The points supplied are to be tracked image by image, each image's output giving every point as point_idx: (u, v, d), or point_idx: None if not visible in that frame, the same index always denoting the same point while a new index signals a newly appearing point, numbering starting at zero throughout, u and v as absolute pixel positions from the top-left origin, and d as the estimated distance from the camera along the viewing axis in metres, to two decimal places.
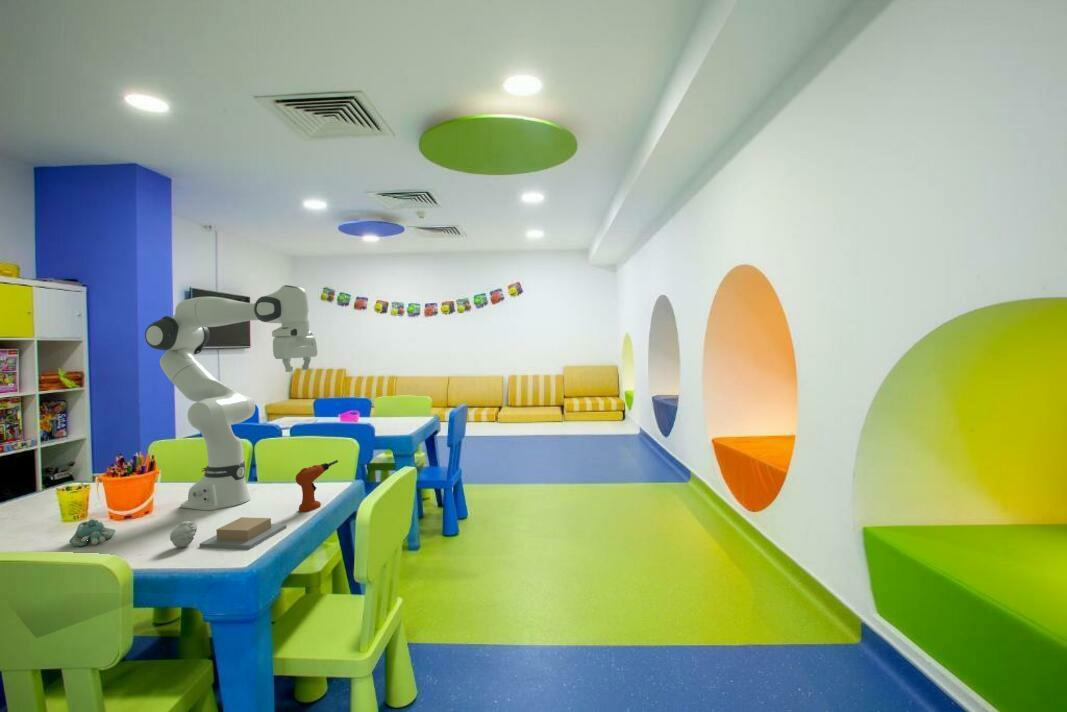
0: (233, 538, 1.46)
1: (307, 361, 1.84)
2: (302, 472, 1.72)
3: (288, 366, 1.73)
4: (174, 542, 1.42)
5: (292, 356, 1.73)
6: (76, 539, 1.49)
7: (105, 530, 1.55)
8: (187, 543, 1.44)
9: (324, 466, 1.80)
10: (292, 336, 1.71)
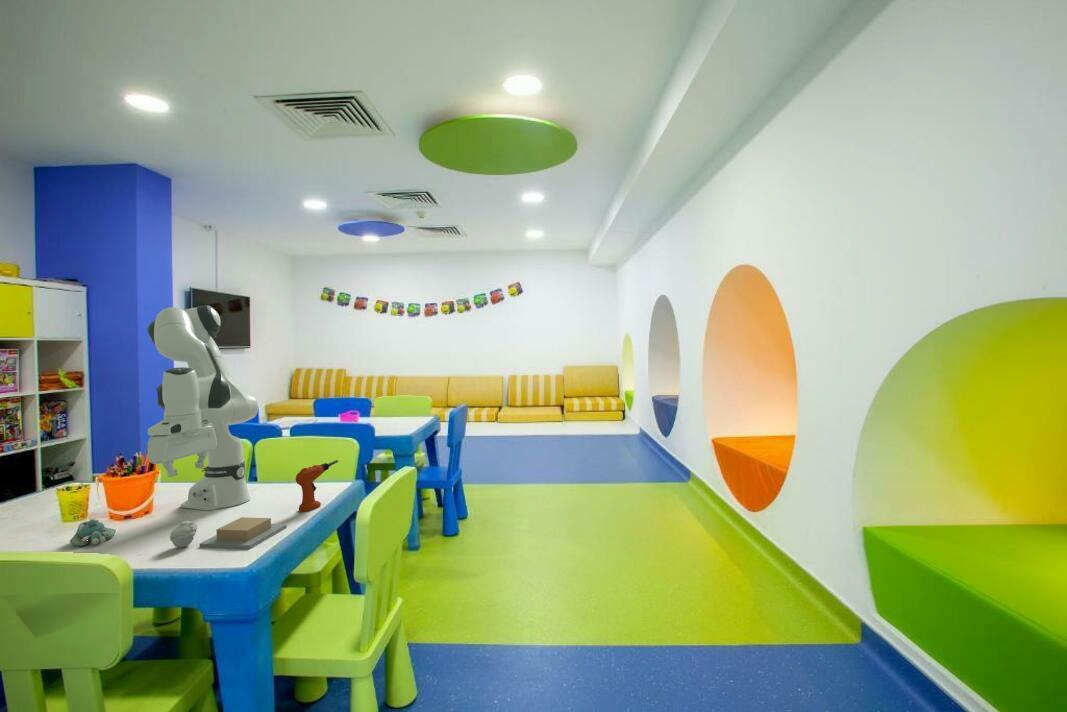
0: (233, 538, 1.46)
1: (202, 457, 1.51)
2: (302, 472, 1.72)
3: (170, 470, 1.40)
4: (174, 542, 1.42)
5: (175, 457, 1.40)
6: (76, 539, 1.49)
7: (106, 530, 1.55)
8: (187, 543, 1.44)
9: (324, 466, 1.80)
10: (173, 434, 1.39)
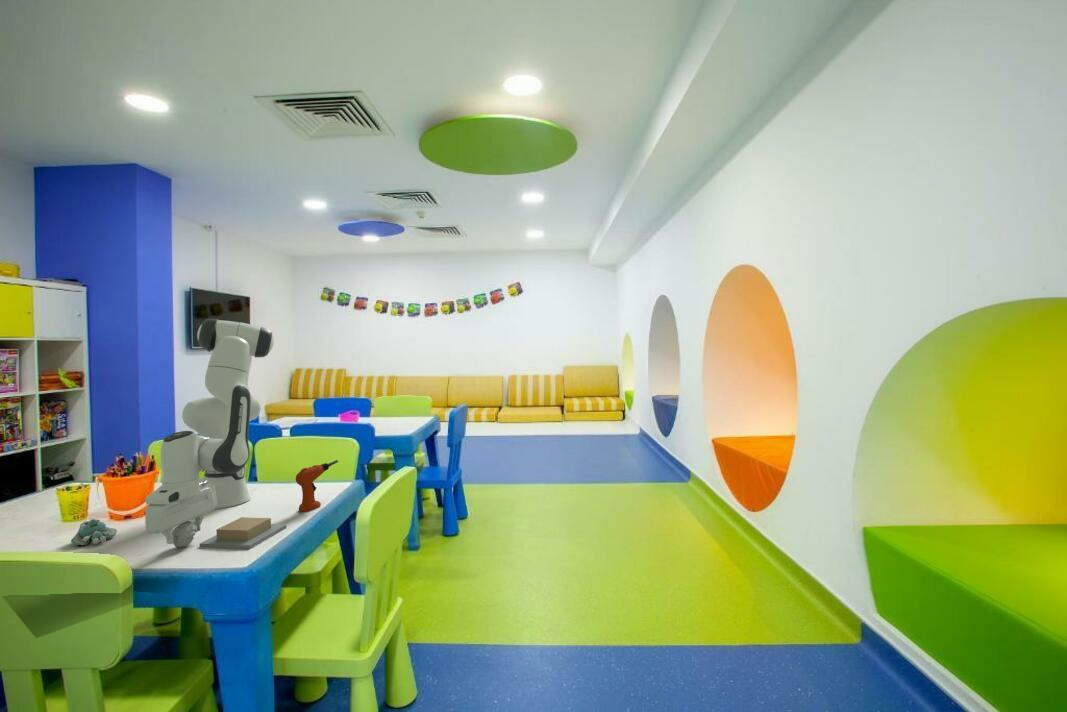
0: (233, 538, 1.46)
1: (198, 520, 1.50)
2: (302, 472, 1.72)
3: (170, 537, 1.40)
4: (174, 542, 1.42)
5: (173, 525, 1.39)
6: (77, 538, 1.49)
7: (107, 530, 1.55)
8: (187, 543, 1.44)
9: (324, 466, 1.80)
10: (171, 502, 1.38)
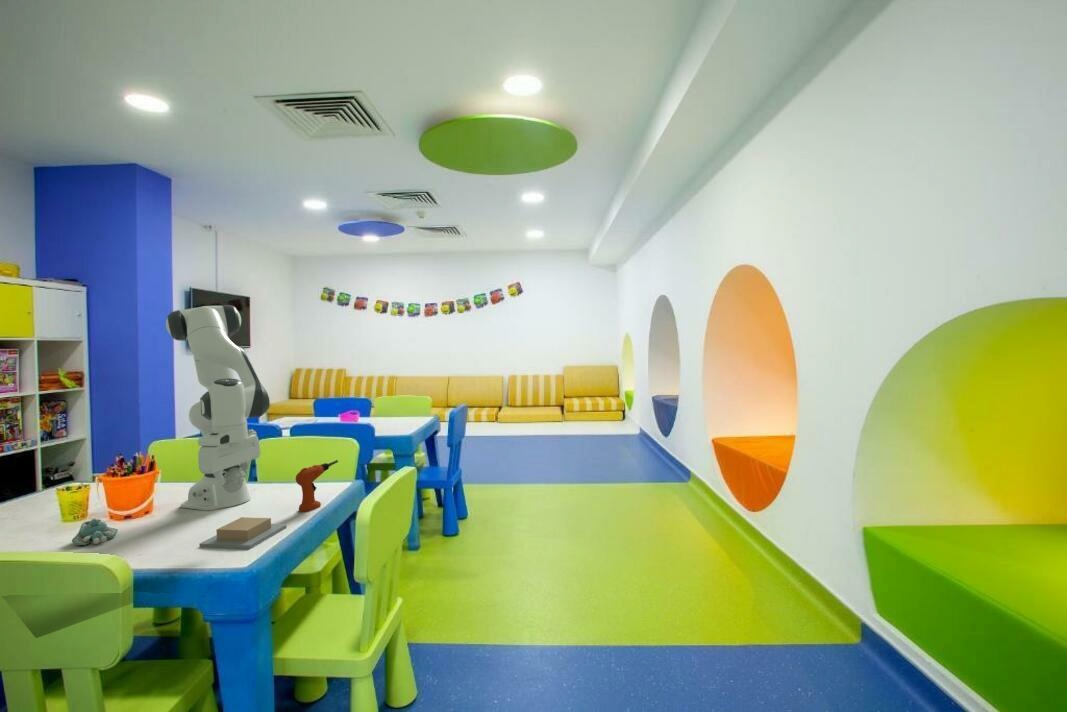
0: (233, 538, 1.46)
1: (245, 466, 1.54)
2: (302, 472, 1.72)
3: (220, 479, 1.44)
4: (225, 487, 1.47)
5: (224, 467, 1.44)
6: (78, 538, 1.49)
7: (108, 529, 1.55)
8: (237, 488, 1.48)
9: (324, 466, 1.80)
10: (222, 444, 1.42)
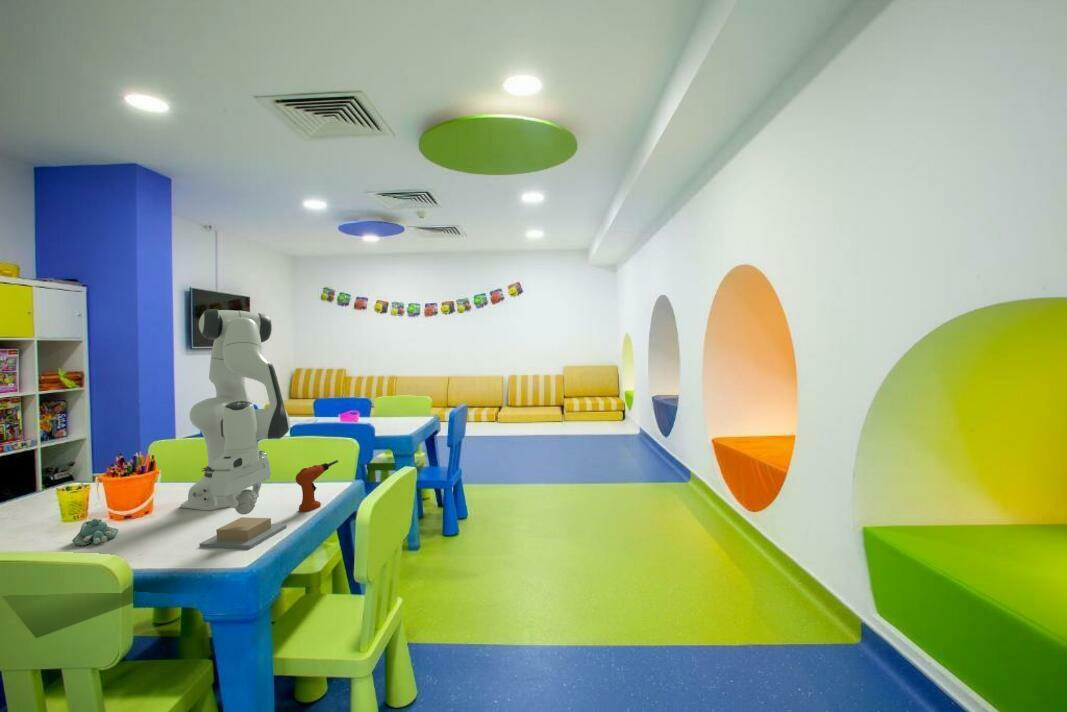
0: (233, 538, 1.46)
1: (257, 487, 1.55)
2: (302, 472, 1.72)
3: (233, 502, 1.46)
4: (238, 509, 1.48)
5: (236, 490, 1.45)
6: (79, 538, 1.50)
7: (108, 529, 1.55)
8: (250, 510, 1.50)
9: (324, 466, 1.80)
10: (236, 468, 1.44)
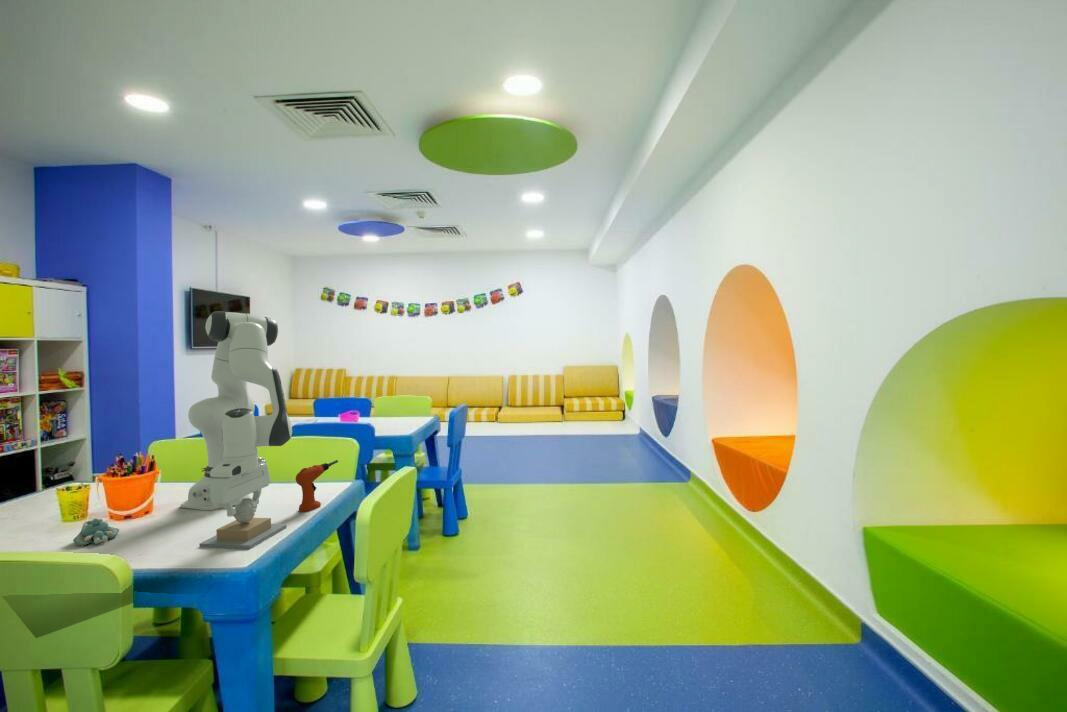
0: (233, 538, 1.46)
1: (257, 494, 1.56)
2: (302, 472, 1.72)
3: (230, 510, 1.45)
4: (237, 518, 1.49)
5: (235, 498, 1.45)
6: (80, 538, 1.50)
7: (110, 529, 1.55)
8: (249, 519, 1.50)
9: (324, 466, 1.80)
10: (234, 475, 1.44)
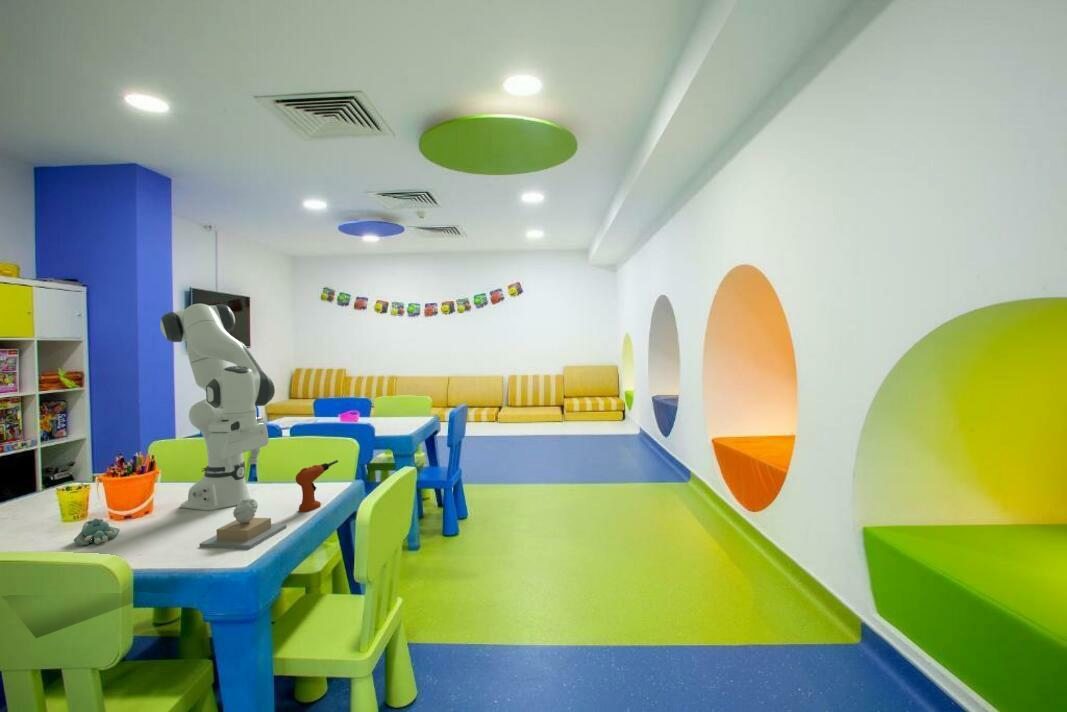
0: (233, 538, 1.46)
1: (255, 453, 1.56)
2: (302, 472, 1.72)
3: (228, 466, 1.45)
4: (237, 518, 1.49)
5: (233, 454, 1.45)
6: (80, 537, 1.50)
7: (110, 529, 1.55)
8: (249, 519, 1.50)
9: (324, 466, 1.80)
10: (233, 431, 1.43)
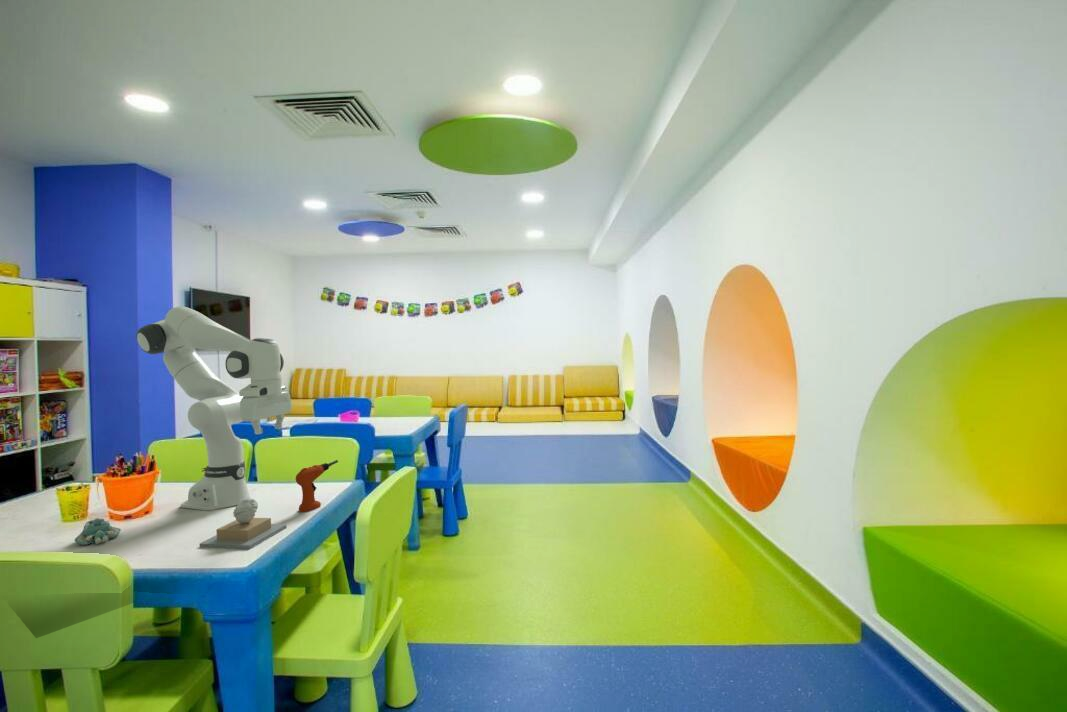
0: (233, 538, 1.46)
1: (280, 419, 1.69)
2: (302, 472, 1.72)
3: (257, 428, 1.58)
4: (237, 518, 1.49)
5: (262, 417, 1.58)
6: (82, 537, 1.50)
7: (111, 529, 1.56)
8: (249, 519, 1.50)
9: (324, 466, 1.80)
10: (261, 396, 1.57)
